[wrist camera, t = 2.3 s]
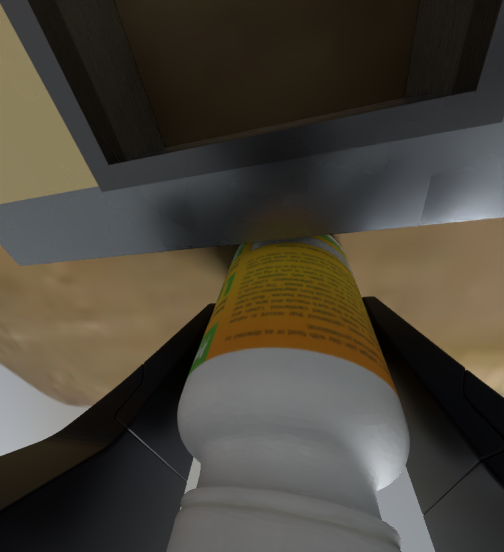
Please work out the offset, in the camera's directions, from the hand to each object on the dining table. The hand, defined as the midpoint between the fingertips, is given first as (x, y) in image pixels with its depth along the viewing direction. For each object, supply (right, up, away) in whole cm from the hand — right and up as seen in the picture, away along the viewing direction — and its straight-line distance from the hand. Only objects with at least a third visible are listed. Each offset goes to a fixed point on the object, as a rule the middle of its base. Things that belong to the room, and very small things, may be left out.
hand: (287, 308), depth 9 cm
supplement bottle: (0, +2, +2) cm, 3 cm away
